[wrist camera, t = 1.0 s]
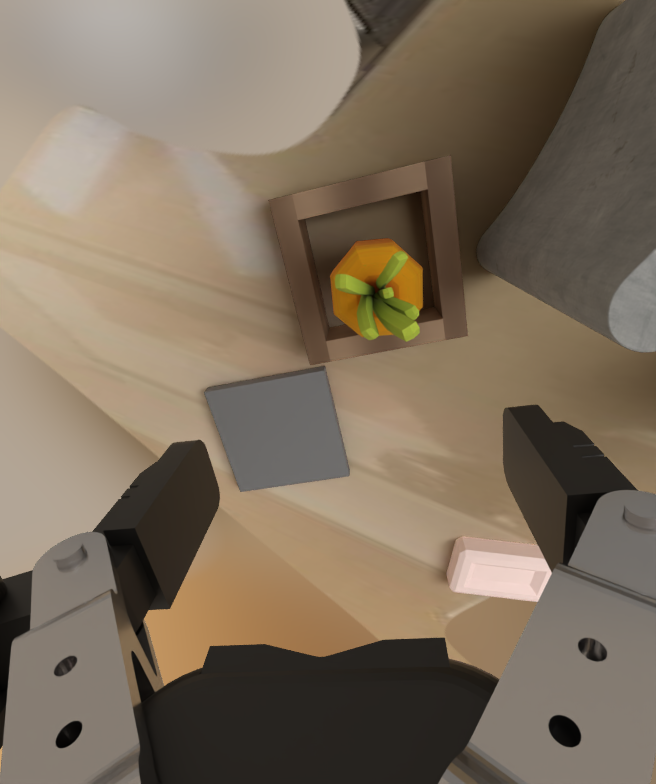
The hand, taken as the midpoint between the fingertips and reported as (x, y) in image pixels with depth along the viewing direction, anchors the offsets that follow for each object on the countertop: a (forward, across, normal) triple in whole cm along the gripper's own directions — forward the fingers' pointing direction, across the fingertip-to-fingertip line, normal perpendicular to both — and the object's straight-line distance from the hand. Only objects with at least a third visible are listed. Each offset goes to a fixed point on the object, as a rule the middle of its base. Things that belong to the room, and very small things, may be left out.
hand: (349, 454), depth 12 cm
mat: (+22, +8, +11) cm, 26 cm away
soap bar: (+23, -10, +28) cm, 37 cm away
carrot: (+22, -1, -2) cm, 23 cm away
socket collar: (+22, -1, -2) cm, 22 cm away
